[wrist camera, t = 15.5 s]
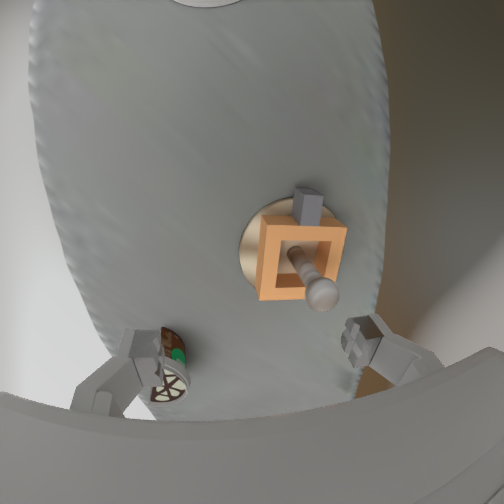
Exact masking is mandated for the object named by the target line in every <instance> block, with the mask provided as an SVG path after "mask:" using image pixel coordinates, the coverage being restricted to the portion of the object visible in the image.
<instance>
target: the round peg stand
mask: <svg viewBox="0 0 504 504" xmlns="http://www.w3.org/2000/svg"><path fill="white" fill-rule="evenodd" d="M292 205H293V197H291V198H284V199H280V200H277V201H275V202H272V203H270V204H268V205H267V206H265V207H263V208H262V209H261V210H260V211H258V212H257V213H256V214H255V215H254V216H253V217H252V218H251V220H250V221H249V222H248V224H247V226H246V227H245V229H244V231H243V234H242V236H241V240H240V245H239V258H240V263H241V267H242V270H243V273H244V275H245V277H246V279H247V280H248V281H249V283H250V284H251V285H252V286H253V287H254V288H255V277H256V267H257V256H258V245H259V234H260V223H261V215H279V216H291V213H292ZM321 217H323V218H336V217H335V216H334V215H333V214H332V213H331V212H330V211H329V210H328V209H327V208H325V207H324V206H322V212H321ZM318 243H319V241H293V240H281V247H280V255H279V263H278V270H277V274H285V273H297V274H298V275H299V277H300V279H301V281H302V282H303V284H304V286H305V287H306V289H305V301H306V303H307V305H308V306H309V307H310V308H311V309H312V310H314V311H317V312H326V311H329V310H331V309H332V308H334V307H335V305H336V304H337V302H338V300H339V289H338V286H337V285H336V283H335V282H334V281H333V280H331V279H329V278H327V277H322V276H321V274H320V273H319V272H318V270H317V269H316V268H315V266H314V265H315V260H316V254H317V249H318ZM343 248H344V247H343ZM342 254H343V251H342ZM341 258H342V256H341ZM340 261H341V260H340ZM255 289H256V288H255Z"/></svg>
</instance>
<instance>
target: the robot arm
mask: <svg viewBox="0 0 504 504" xmlns="http://www.w3.org/2000/svg"><path fill="white" fill-rule="evenodd" d="M174 1H176V2H178V3H181V4H184V5H188V6H193V7H218V6H224V5H228V4H231V3H234V2H237V1H240V0H174ZM345 326H346V329H345V331H344V332H343V333H342V336H341V344H342V348H343V350H344V352H346V353H348V354H349V357H348V359H349V361H350V362H351V364H352V366H353V368H358V367H363V366H368V365H369V366H370V367H371V368H373V369H374V370H375V371H377V372H378V373H380V374H381V375H383V376H384V377H385V378H386V379H388V380H389V381H390V382H392V383H393V384H395V385H396V387H394V388H391V389H388V390H385V391H382V392H379V393H376V394H372V395H369V396H365V397H362V398H358V399H354V400H350V401H347V402H343V403H338V404H334V405H330V406H325V407H321V408H316V409H311V410H305V411H300V412H294V413H287V414H281V415H273V416H265V417H257V418H247V419H234V420H218V421H157V420H140V419H129V418H125V417H124V415H123V412H124V411H125V409H126V408H127V407H128V406H129V404H130V403H131V402H132V401H133V399H134V398H135V397H136V396H137V394H138V393H139V392H140V391H141V390H142V388H143V387H162V386H163V375H164V374H163V371H162V368H163V367H164V364H165V353H164V347H163V345H162V344H161V334H160V331H159V330H130V329H125V330H124V331H123V334H122V337H121V341H120V344H119V347H118V351H117V355H116V357H112V358H111V359H109V360H108V361H107V362H106V363H105V364H103V365H102V366H101V367H100V368H98V369H97V370H96V371H95V372H94V373H92V374H91V375H90V376H89V377H88V378H86V380H84V381H83V382H82V383H81V384H79V385H78V386H77V387H76V390H75V393H74V396H73V400H72V403H71V406H70V410H68V409H63V408H59V407H55V406H50V405H46V404H43V403H38V402H35V401H32V400H28V399H25V398H21V397H18V396H15V395H13V394H9V393H7V392H0V504H504V352H502V351H499V350H497V349H495V348H492V347H487V348H484V349H482V350H480V351H478V352H476V353H475V354H473V355H471V356H469V357H467V358H465V359H463V360H461V361H459V362H456V363H454V364H452V365H450V366H448V367H446V368H445V367H444V365H443V364H442V363H441V362H440V360H439V359H438V358H437V356H436V355H435V354H434V353H433V352H431V351H429V350H427V349H425V348H423V347H421V346H419V345H417V344H415V343H413V342H411V341H409V340H407V339H405V338H403V337H401V336H399V335H397V334H393V333H392V332H391V330H390V329H389V328H388V327H387V325H386V324H385V323H384V322H383V320H382V319H381V318H380V316H379V315H378V314H371V315H367V316H359V317H353V318H348V319H347V321H346V324H345Z"/></svg>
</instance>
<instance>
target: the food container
mask: <svg viewBox="0 0 504 504" xmlns="http://www.w3.org/2000/svg"><path fill="white" fill-rule="evenodd" d="M160 334H161V344H162V345H163V347H164V353H165V364H164V367H163V368H162V371H163V374H164V375H163V386H162V387H151V391H150V399H149V405H150V406H158V407H162V406H170V405H174V404H177V403H179V402H180V401H182V400H183V399H184V398H185V396H186V395H187V393H188V390H189V387H190V383H191V380H190V376H189V374H188V372H187V370H186V364H185V347H184V343H183V341H182V339H181V338H180V337H179V336H178V335H177V334H176V333H175V332H173V331H171V330H169V329H167V328H164V327H162V328H161V333H160Z"/></svg>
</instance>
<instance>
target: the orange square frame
mask: <svg viewBox="0 0 504 504" xmlns="http://www.w3.org/2000/svg"><path fill="white" fill-rule="evenodd" d="M323 199H324V196H323V195H321V194H320V193H318V192H316V191H315V190H313V189H306V188H295V189H294V197H293V205H292V213H291V216H279V215H261V223H260V234H259V245H258V256H257V267H256V277H255V288H256V291H257V294H258V298H259V301H262V300H290V299H305V289H306V287H305V286H304V284H303V282H302V281H301V279H300V277H299V275H298V274H297V273H285V274H277V270H278V263H279V255H280V247H281V240H293V241H319V243H318V249H317V254H316V260H315V265H314V266H315V268H316V269H317V270H318V272H319V273H320V274H321V276H322V277H327V278H329V279H331V280H333V281H334V282H336V278H337V273H338V269H339V265H340V260H341V256H342V251H343V247H344V242H345V237H346V232H347V227H346V226H345V225H343V224H342V223H341V222H339V221H338V220H337V219H336V218H323V217H321V212H322V205H323Z"/></svg>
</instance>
